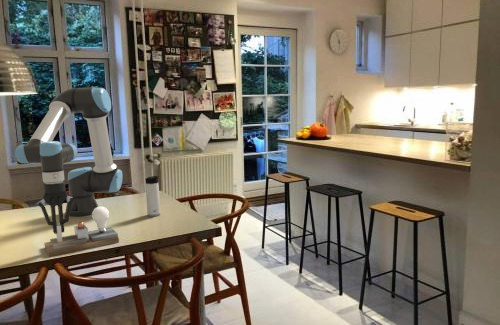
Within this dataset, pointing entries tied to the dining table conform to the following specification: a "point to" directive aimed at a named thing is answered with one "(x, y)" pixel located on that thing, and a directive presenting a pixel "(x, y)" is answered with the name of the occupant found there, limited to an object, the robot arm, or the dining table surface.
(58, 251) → the press base
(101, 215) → the light bulb
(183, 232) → the dining table surface
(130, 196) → the dining table surface
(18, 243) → the dining table surface
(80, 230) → the ram slider
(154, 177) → the travel mug
